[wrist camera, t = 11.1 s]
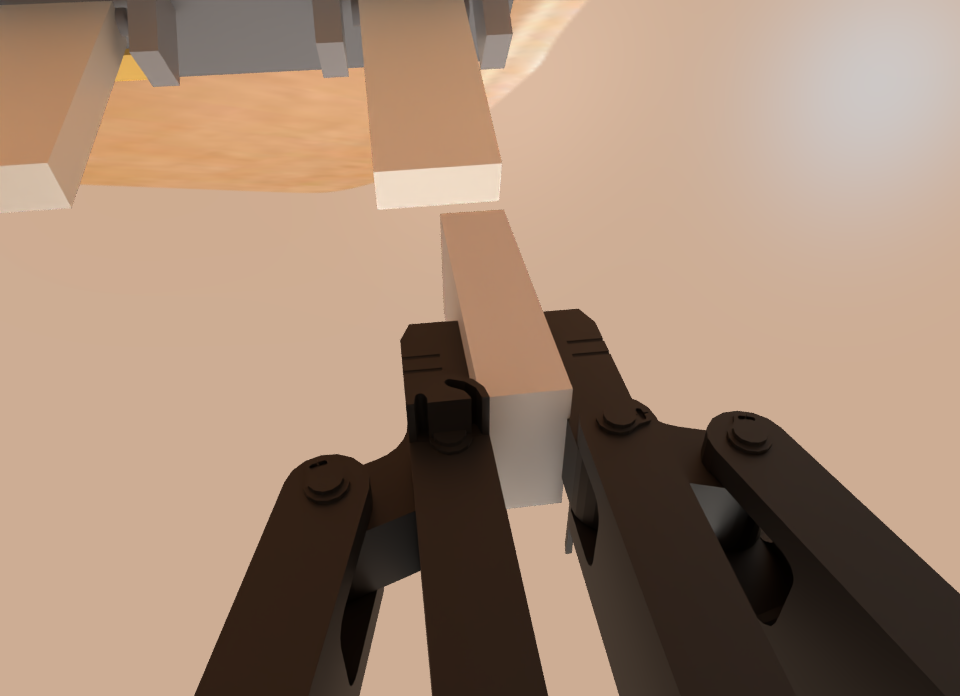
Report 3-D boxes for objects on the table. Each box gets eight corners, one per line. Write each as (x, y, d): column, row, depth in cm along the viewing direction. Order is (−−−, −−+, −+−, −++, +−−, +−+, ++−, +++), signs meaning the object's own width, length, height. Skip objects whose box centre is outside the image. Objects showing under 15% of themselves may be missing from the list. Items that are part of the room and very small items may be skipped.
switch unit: (22, 44, 32) (24, 151, 31) (-203, -196, 20) (-208, -33, 20) (494, 22, 35) (507, 121, 34) (538, -202, 23) (559, -58, 22)
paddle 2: (353, 24, 28) (368, 210, 23) (349, -15, 27) (363, 172, 21) (465, 19, 29) (507, 199, 23) (466, -19, 28) (511, 162, 22)
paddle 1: (13, 41, 27) (-85, 218, 20) (-9, -1, 26) (-120, 173, 19) (138, 36, 27) (82, 207, 21) (122, -6, 26) (58, 162, 20)
